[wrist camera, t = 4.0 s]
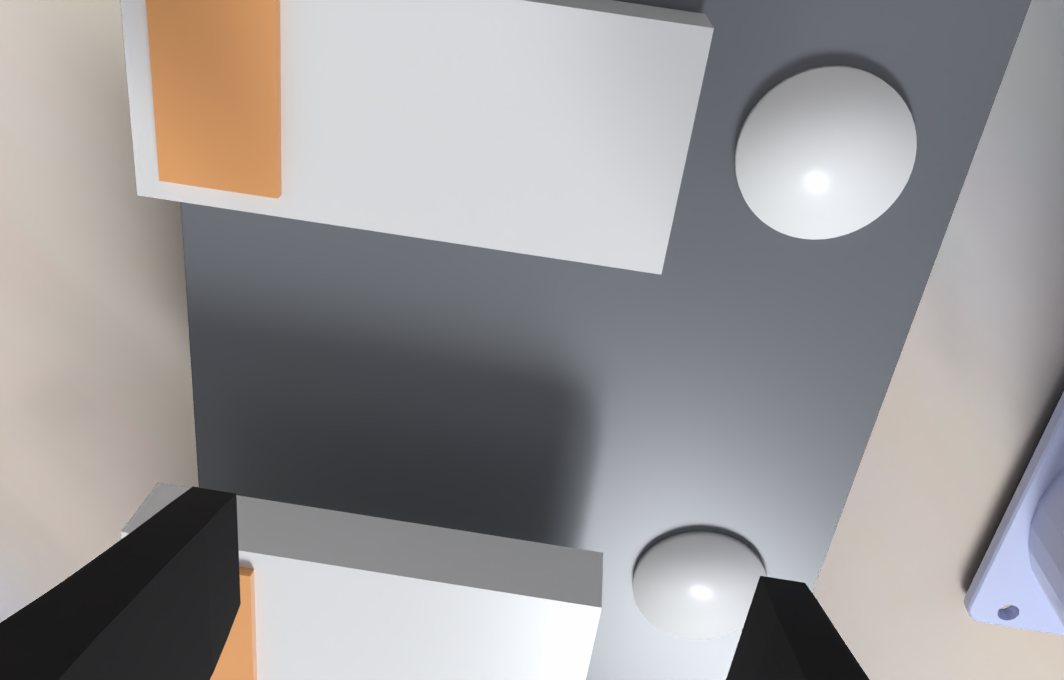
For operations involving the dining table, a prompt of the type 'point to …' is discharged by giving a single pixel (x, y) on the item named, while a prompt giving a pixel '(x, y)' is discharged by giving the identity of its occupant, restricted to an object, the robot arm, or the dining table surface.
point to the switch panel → (625, 333)
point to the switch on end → (399, 599)
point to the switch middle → (424, 117)
